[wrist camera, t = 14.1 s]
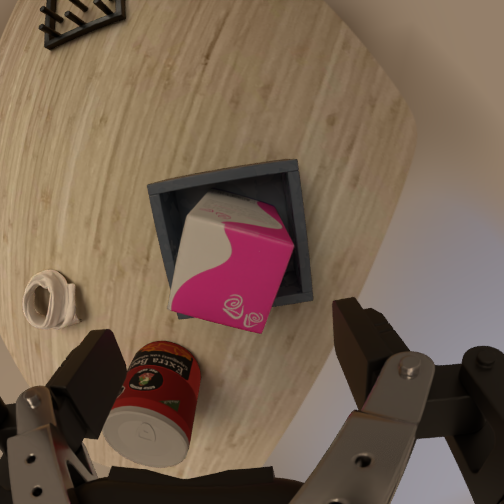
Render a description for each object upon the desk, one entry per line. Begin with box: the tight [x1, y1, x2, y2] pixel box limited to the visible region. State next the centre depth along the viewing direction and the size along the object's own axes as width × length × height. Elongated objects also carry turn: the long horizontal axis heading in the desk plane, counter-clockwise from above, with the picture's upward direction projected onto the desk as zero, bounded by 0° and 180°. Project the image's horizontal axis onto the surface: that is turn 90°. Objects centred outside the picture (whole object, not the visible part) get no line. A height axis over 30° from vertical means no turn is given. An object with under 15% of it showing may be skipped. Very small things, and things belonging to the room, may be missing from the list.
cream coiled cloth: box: [23, 270, 82, 329], centre depth 28 cm, size 8×7×5 cm
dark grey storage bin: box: [147, 159, 313, 319], centre depth 25 cm, size 11×11×6 cm
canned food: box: [102, 341, 201, 468], centre depth 27 cm, size 8×8×11 cm
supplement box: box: [167, 188, 294, 334], centre depth 22 cm, size 6×6×12 cm
